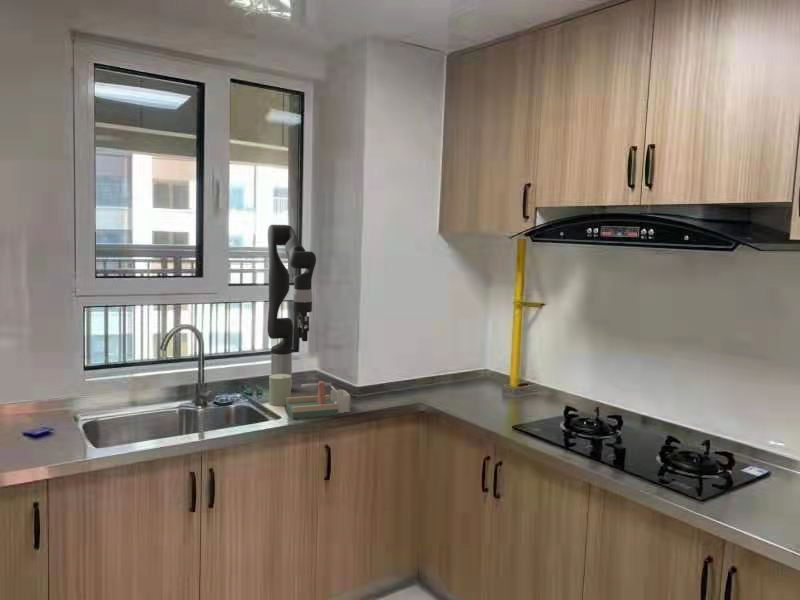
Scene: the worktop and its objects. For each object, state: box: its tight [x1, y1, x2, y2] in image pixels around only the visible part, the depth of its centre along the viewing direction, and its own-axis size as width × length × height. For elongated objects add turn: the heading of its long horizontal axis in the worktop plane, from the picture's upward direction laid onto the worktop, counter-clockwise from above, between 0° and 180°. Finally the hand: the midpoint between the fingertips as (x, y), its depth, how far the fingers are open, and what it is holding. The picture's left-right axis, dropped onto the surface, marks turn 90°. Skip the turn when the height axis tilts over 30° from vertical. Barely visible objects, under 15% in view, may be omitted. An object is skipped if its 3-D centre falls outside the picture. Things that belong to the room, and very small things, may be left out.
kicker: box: [301, 380, 333, 405], centre depth 247 cm, size 7×12×9 cm, turn 110°
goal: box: [330, 385, 351, 414], centre depth 250 cm, size 10×6×9 cm, turn 20°
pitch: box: [285, 394, 339, 419], centre depth 246 cm, size 15×18×4 cm
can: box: [268, 374, 292, 407], centre depth 259 cm, size 9×9×12 cm
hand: (302, 339), depth 252 cm, fingers open, 8 cm apart
